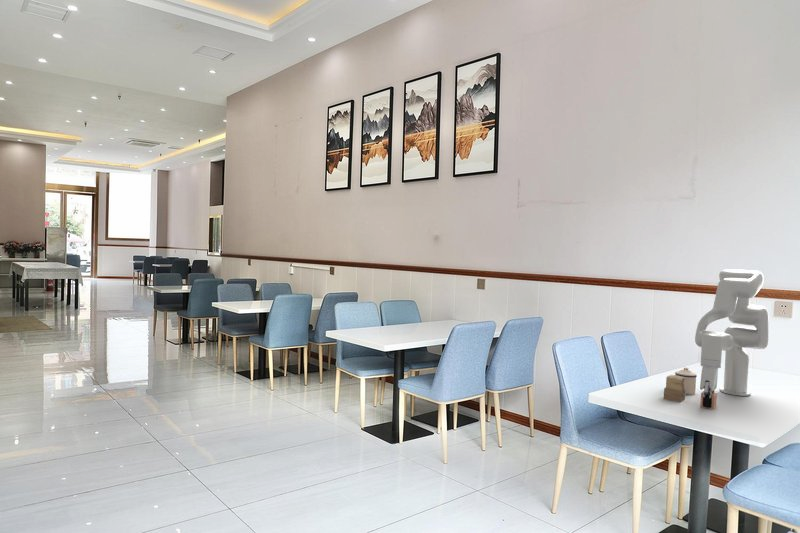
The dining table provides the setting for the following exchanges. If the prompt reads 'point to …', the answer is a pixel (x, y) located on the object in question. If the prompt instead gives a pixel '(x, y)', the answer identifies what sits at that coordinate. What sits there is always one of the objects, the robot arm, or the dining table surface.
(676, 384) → the block
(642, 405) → the dining table surface
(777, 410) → the dining table surface
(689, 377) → the teacup with lid
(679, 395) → the tower base
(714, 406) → the terracotta block
